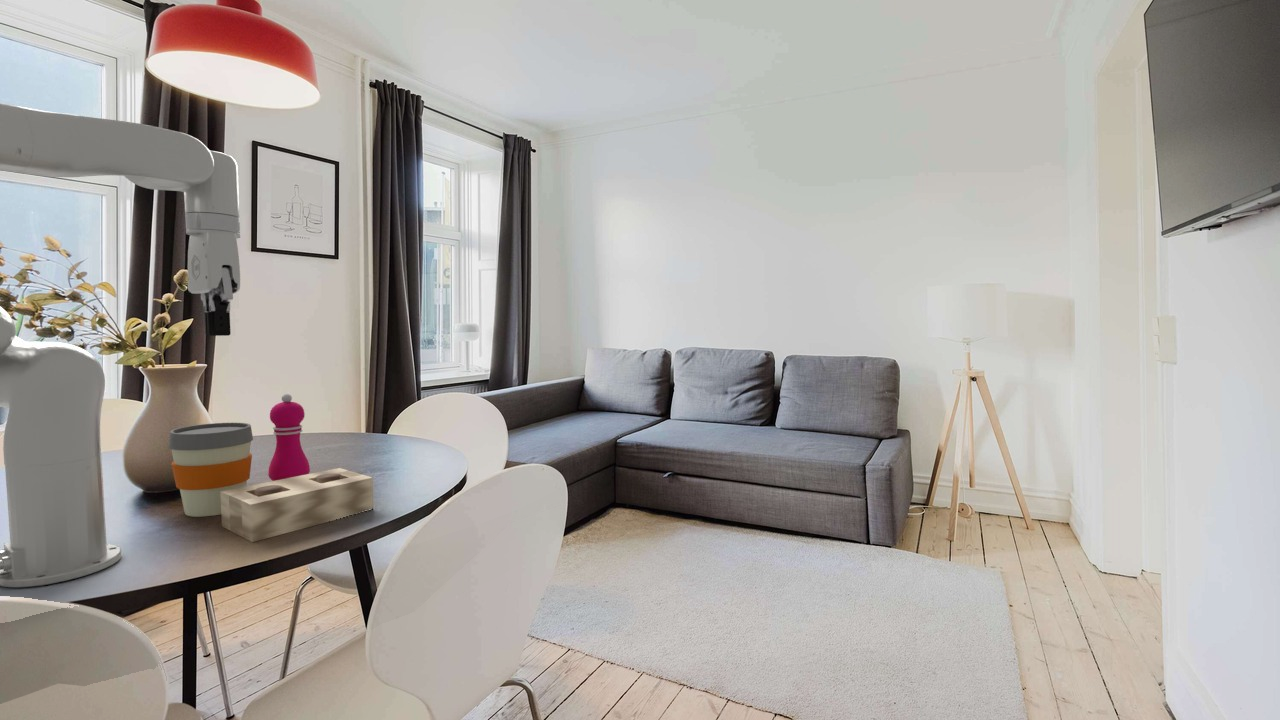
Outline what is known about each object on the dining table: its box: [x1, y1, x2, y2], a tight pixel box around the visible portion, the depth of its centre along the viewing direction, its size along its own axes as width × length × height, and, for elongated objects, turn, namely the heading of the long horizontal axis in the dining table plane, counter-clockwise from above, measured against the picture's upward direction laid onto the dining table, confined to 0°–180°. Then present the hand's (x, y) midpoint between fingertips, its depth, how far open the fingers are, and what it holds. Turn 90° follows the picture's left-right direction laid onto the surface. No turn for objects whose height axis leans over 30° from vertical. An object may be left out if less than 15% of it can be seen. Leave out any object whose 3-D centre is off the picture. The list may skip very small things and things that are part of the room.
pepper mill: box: [267, 393, 311, 481], centre depth 120 cm, size 7×7×20 cm
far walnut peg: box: [316, 473, 341, 483], centre depth 109 cm, size 4×4×6 cm
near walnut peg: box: [254, 485, 283, 497], centre depth 101 cm, size 4×4×6 cm
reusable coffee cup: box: [168, 422, 254, 518], centre depth 109 cm, size 13×13×15 cm
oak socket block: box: [220, 467, 374, 543], centre depth 105 cm, size 20×12×6 cm, turn 144°
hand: (218, 335), depth 102 cm, fingers closed
